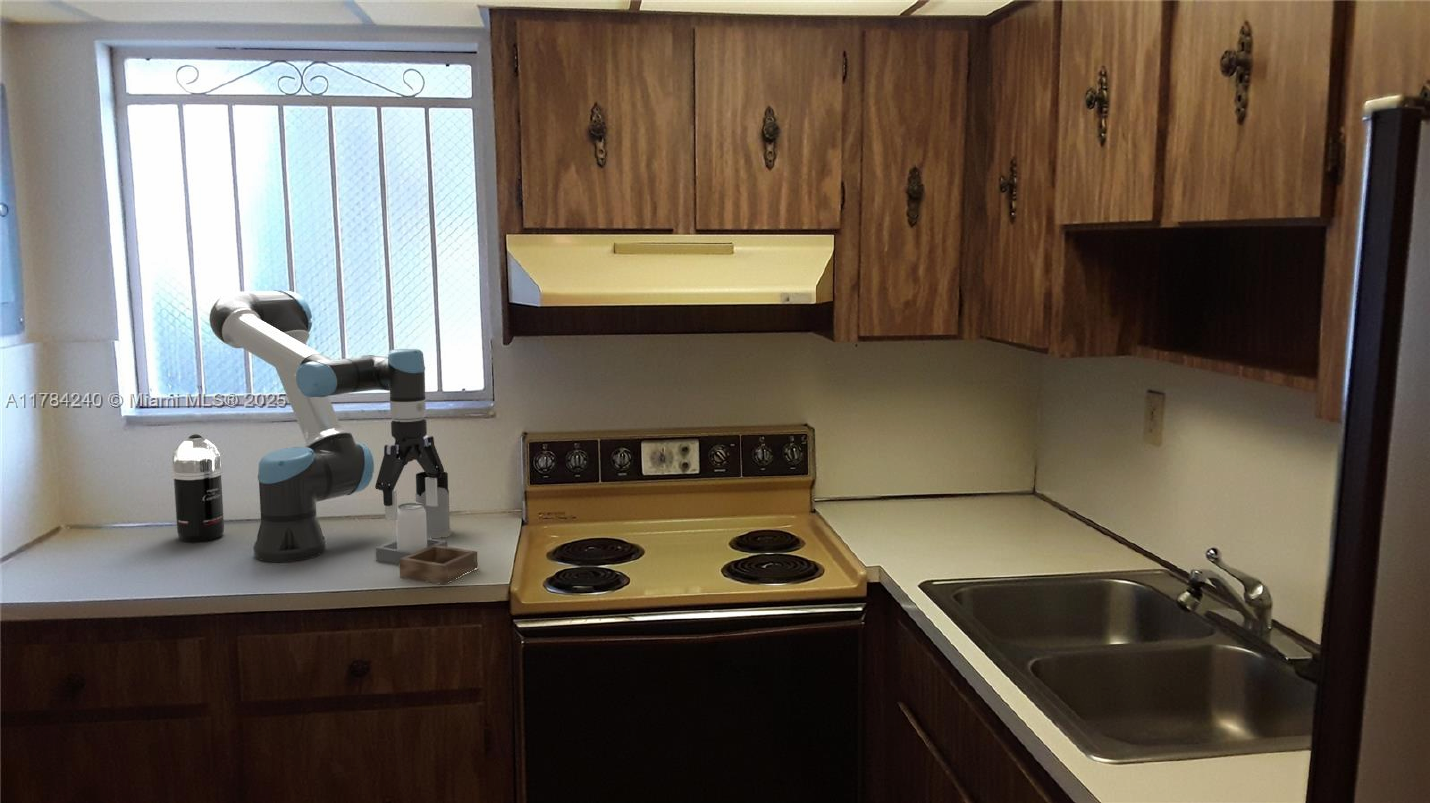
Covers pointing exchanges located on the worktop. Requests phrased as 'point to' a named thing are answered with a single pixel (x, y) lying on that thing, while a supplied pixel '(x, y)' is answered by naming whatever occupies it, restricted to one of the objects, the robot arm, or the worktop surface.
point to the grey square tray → (400, 551)
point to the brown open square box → (438, 564)
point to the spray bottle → (198, 490)
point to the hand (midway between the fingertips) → (412, 512)
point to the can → (411, 527)
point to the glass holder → (435, 515)
